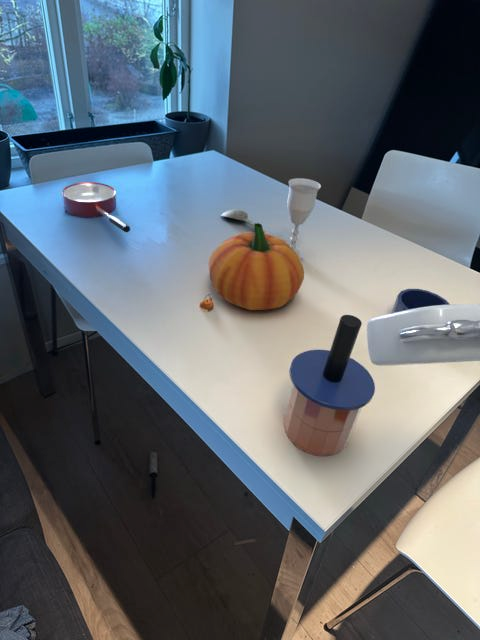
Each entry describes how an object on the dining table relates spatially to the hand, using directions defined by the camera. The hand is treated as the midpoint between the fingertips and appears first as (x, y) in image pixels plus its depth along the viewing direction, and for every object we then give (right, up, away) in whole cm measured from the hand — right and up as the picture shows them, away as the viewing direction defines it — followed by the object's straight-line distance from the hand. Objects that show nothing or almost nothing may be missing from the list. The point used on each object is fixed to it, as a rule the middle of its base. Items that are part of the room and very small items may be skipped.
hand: (440, 343), depth 41 cm
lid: (-6, -6, +19) cm, 21 cm away
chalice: (-6, +17, +67) cm, 69 cm away
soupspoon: (-16, +26, +76) cm, 82 cm away
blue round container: (+17, +1, +49) cm, 52 cm away
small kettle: (-25, +5, +47) cm, 53 cm away
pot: (-7, -14, +25) cm, 30 cm away
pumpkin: (-16, +8, +53) cm, 56 cm away
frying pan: (-52, +27, +71) cm, 92 cm away
